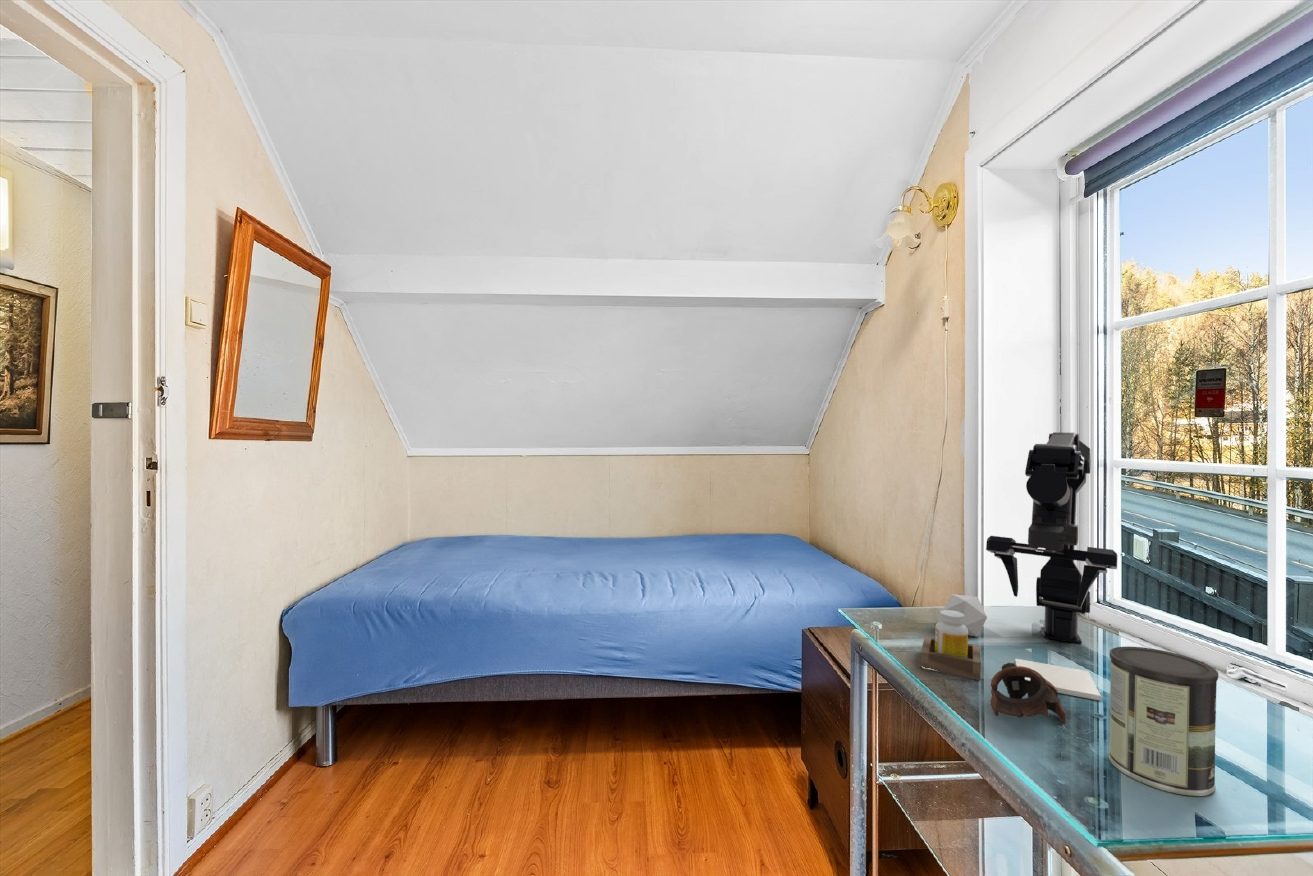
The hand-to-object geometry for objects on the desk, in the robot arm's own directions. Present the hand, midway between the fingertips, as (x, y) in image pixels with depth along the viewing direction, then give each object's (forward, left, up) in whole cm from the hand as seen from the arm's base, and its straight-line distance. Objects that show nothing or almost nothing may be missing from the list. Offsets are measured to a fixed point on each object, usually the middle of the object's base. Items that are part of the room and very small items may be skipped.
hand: (1046, 601), depth 100 cm
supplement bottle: (+2, -14, -14) cm, 20 cm away
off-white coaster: (0, +2, -14) cm, 14 cm away
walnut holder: (+2, -14, -14) cm, 20 cm away
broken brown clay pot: (+17, -4, -14) cm, 22 cm away
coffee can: (+26, +10, -14) cm, 31 cm away
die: (-19, -12, -14) cm, 27 cm away
